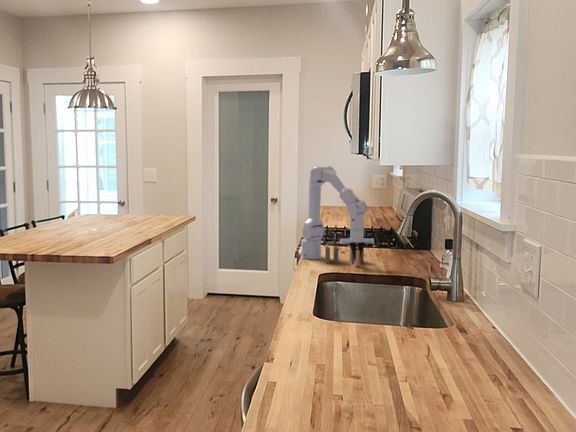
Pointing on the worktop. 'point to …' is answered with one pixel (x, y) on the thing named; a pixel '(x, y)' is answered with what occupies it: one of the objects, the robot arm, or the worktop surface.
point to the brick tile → (357, 258)
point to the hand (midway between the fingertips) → (356, 259)
